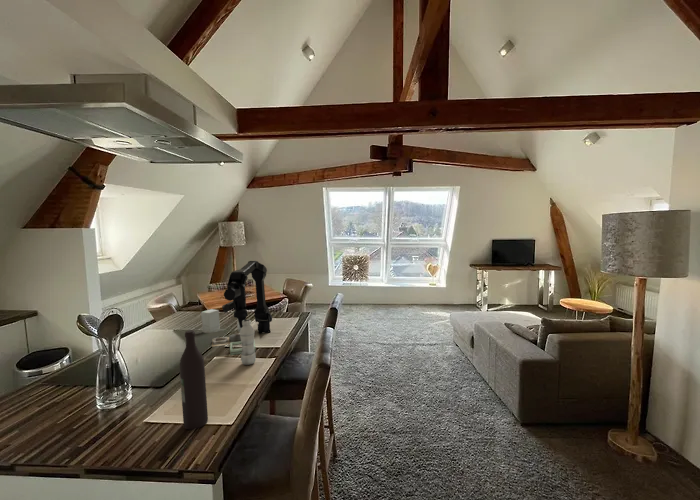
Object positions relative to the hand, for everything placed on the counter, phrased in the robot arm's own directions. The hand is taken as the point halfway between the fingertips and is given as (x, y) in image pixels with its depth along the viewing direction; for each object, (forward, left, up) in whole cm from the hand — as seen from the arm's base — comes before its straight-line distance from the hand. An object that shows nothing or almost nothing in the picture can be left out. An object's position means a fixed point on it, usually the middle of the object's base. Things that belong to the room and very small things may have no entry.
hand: (241, 326), depth 172 cm
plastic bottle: (-2, +20, -12) cm, 24 cm away
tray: (0, 0, -12) cm, 12 cm away
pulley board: (+6, -13, -12) cm, 19 cm away
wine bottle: (+16, +63, -12) cm, 66 cm away
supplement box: (+17, -40, -12) cm, 45 cm away
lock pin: (0, 0, -2) cm, 2 cm away
